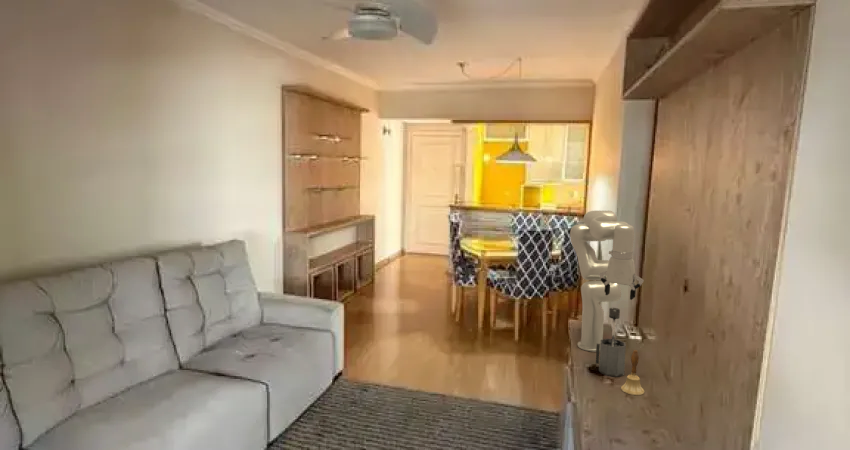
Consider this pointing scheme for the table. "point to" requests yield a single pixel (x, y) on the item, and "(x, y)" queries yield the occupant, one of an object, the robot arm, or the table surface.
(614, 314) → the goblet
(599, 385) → the table surface
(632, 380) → the hand bell
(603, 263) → the robot arm
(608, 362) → the grey octagonal cup
